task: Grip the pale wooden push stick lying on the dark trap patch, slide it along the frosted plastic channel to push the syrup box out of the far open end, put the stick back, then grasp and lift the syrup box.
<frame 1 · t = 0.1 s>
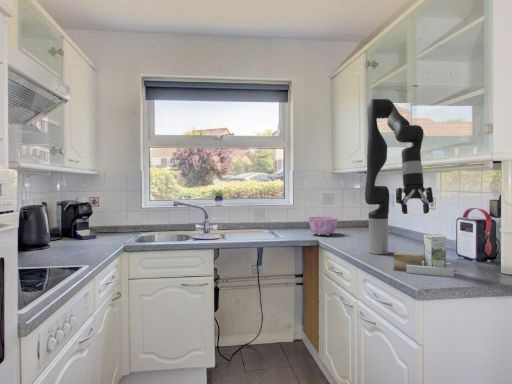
hand: (415, 213, 144), 22 cm above the worktop, tool pointing down, fingers open, 8 cm apart
syrup box: (434, 273, 139), on the worktop
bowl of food: (323, 235, 245), on the worktop
push stick: (408, 269, 143), resting on channel
channel: (429, 271, 140), on the worktop
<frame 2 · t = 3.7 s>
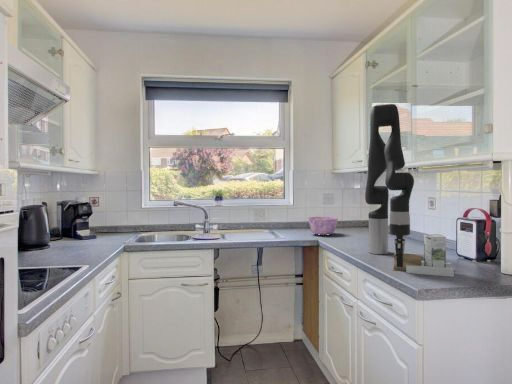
hand: (399, 265, 145), 2 cm above the worktop, tool pointing down, fingers closed on push stick, 3 cm apart
push stick: (407, 269, 143), resting on channel, touching gripper
everything else where it was.
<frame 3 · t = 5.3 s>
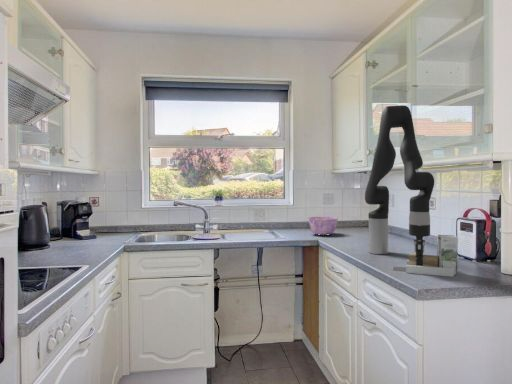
hand: (419, 267, 141), 2 cm above the worktop, tool pointing down, fingers closed on push stick, 3 cm apart
syrup box: (447, 273, 138), on the worktop, touching push stick
push stick: (423, 270, 141), touching gripper, syrup box
everything else where it was.
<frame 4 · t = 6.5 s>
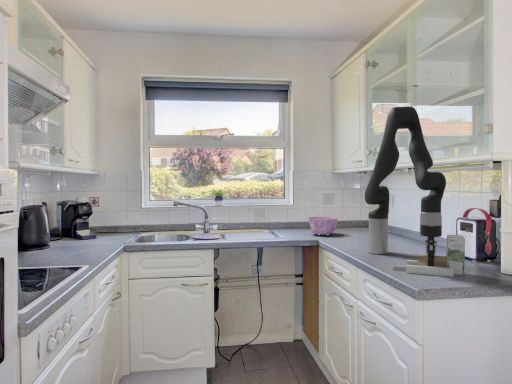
hand: (430, 267, 140), 2 cm above the worktop, tool pointing down, fingers closed on push stick, 3 cm apart
syrup box: (455, 274, 137), on the worktop, touching push stick
push stick: (431, 271, 140), on the worktop, touching gripper, syrup box
everything else where it was.
when the fingers open (3 cm above the worktop, at t = 10.7 s): push stick drops 1 cm, resting on channel.
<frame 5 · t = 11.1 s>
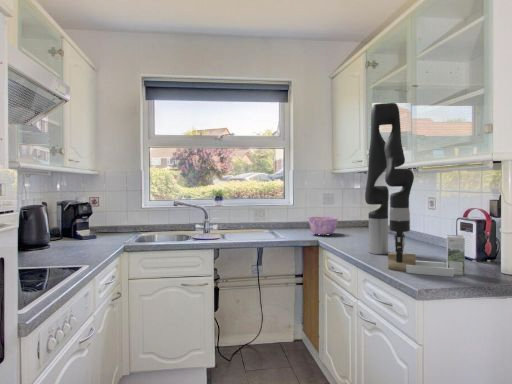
hand: (399, 260, 144), 4 cm above the worktop, tool pointing down, fingers open, 6 cm apart
syrup box: (455, 274, 137), on the worktop
push stick: (401, 269, 144), resting on channel
everything else where it was.
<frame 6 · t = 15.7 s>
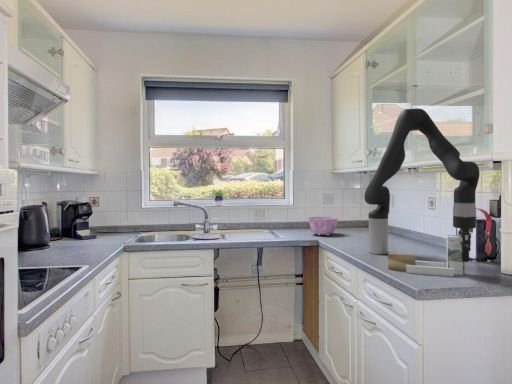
hand: (464, 259, 135), 6 cm above the worktop, tool pointing down, fingers closed on syrup box, 5 cm apart
syrup box: (455, 274, 137), on the worktop, touching gripper
everything else where it was.
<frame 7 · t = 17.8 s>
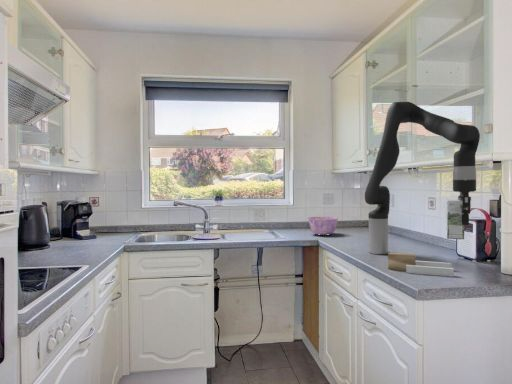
hand: (464, 223, 135), 19 cm above the worktop, tool pointing down, fingers closed on syrup box, 5 cm apart
syrup box: (455, 238, 136), point 13 cm above the worktop, touching gripper
everything else where it was.
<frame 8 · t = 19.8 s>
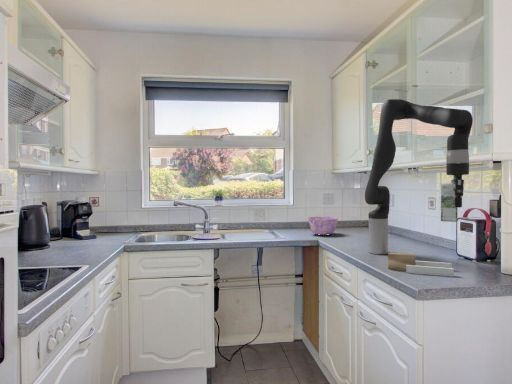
hand: (457, 206, 137), 25 cm above the worktop, tool pointing down, fingers closed on syrup box, 5 cm apart
syrup box: (448, 221, 139), point 20 cm above the worktop, touching gripper
everything else where it was.
at the end: the gripper is holding syrup box; syrup box inside the target area on the channel (4.1 cm from its centre), point 19.6 cm above the channel's base; syrup box tilted 0° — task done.
